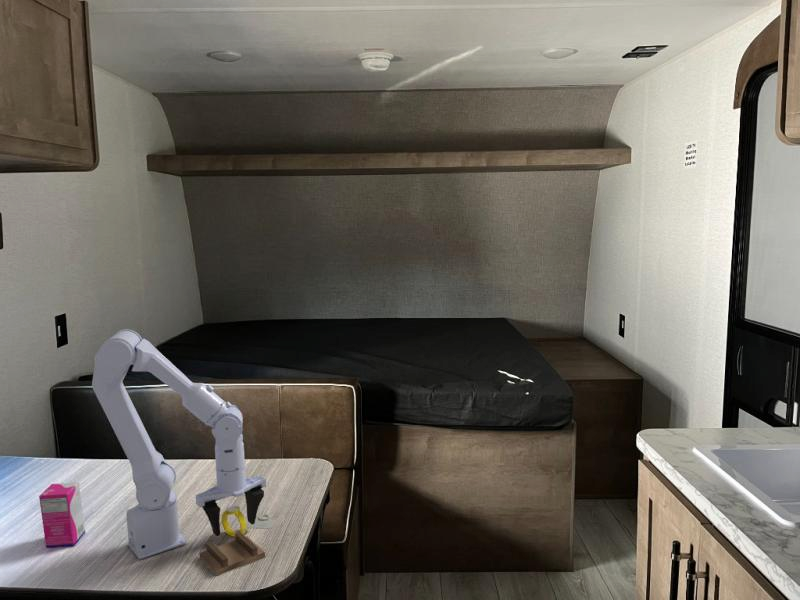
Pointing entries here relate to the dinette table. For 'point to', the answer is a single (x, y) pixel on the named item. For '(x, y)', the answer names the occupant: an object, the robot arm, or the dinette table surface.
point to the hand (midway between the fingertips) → (234, 528)
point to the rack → (231, 554)
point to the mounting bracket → (262, 522)
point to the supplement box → (62, 515)
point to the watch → (238, 514)
